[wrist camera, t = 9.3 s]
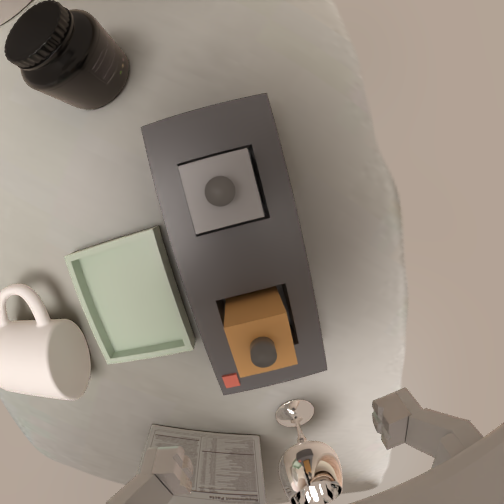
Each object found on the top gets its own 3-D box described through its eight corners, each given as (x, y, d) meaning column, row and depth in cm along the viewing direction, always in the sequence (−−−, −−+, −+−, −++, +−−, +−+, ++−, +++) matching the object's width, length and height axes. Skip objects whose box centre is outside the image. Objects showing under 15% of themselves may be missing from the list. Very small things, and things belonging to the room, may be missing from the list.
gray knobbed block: (194, 172, 23) (173, 165, 15) (243, 159, 23) (248, 144, 15) (207, 220, 24) (193, 237, 16) (256, 208, 24) (266, 218, 16)
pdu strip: (158, 137, 24) (139, 126, 18) (260, 110, 24) (267, 91, 18) (224, 364, 28) (223, 397, 23) (313, 342, 28) (328, 371, 23)
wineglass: (259, 413, 30) (269, 499, 18) (301, 386, 30) (329, 471, 18) (288, 436, 31) (305, 515, 19) (328, 412, 31) (359, 490, 19)
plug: (226, 290, 25) (222, 337, 17) (273, 278, 25) (289, 320, 17) (238, 331, 26) (240, 388, 18) (282, 320, 26) (301, 373, 18)
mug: (99, 372, 28) (70, 416, 20) (36, 369, 28) (4, 404, 20) (66, 268, 26) (19, 295, 18) (4, 277, 25) (-40, 300, 18)
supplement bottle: (64, 116, 22) (-17, 89, 11) (75, 54, 21) (9, 6, 9) (127, 107, 23) (59, 61, 11) (136, 43, 21) (86, -26, 10)
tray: (74, 252, 25) (64, 256, 23) (158, 225, 25) (152, 228, 23) (114, 354, 28) (107, 364, 26) (195, 339, 28) (193, 350, 26)
